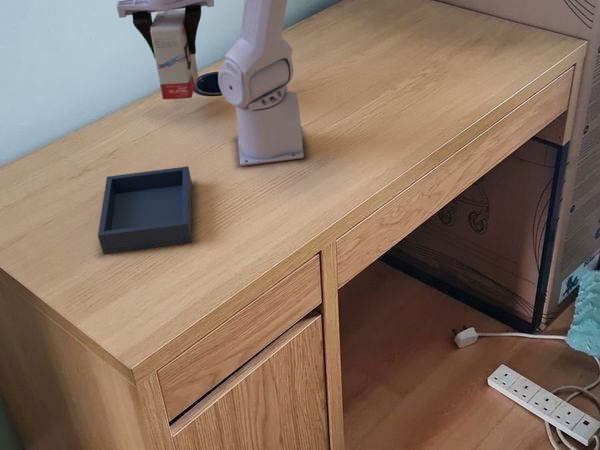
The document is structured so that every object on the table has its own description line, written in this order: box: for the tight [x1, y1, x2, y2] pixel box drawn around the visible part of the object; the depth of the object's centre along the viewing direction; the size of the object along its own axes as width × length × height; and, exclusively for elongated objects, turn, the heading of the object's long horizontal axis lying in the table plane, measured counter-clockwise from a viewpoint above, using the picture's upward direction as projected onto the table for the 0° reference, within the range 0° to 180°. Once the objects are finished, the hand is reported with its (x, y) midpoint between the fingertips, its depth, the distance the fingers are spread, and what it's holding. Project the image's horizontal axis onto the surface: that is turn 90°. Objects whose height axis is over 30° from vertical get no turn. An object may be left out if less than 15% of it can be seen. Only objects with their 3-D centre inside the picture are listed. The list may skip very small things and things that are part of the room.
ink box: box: [150, 9, 199, 100], centre depth 125 cm, size 9×5×12 cm, turn 178°
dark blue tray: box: [97, 166, 193, 255], centre depth 107 cm, size 12×14×3 cm
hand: (175, 53), depth 125 cm, fingers closed on ink box, 5 cm apart
